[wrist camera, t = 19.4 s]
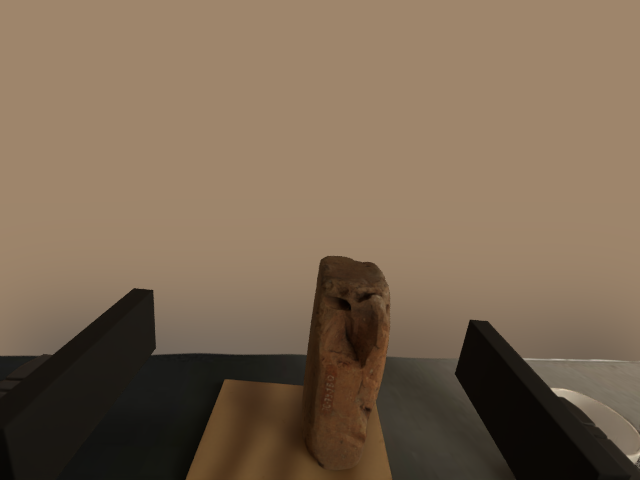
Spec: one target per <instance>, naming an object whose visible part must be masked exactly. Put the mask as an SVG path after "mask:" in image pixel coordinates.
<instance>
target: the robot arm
mask: <svg viewBox="0 0 640 480" xmlns="http://www.w3.org/2000/svg"><path fill="white" fill-rule="evenodd" d="M153 299H154V297H153V290H146V289H136V288H134V289H133V290H131V291H130V292H129V293H128V294H126V295H125V296H124V297H123V298H122V299H120V300H119V301H118V302H117V303H115V304H114V305H113V306H112V307H111V308H109V309H108V310H107V311H106V312H105V313H103V314H102V315H101V316H100V317H98V318H97V319H96V320H95V321H94V322H92V323H91V324H90V325H89V326H88V327H87V328H85V329H84V330H83V331H81V332H80V333H79V334H78V335H77V336H75V337H74V338H73V339H72V340H71V341H69V342H68V343H67V344H66V345H64V346H63V347H62V348H61V349H60V350H58V351H57V352H56V353H55V354H53V355H47V354H43V355H41V356H39V357H37V358H35V359H33V360H31V361H29V362H27V363H25V364H23V365H21V366H20V367H19V368H17V369H16V370H15V371H14V372H12V373H11V374H10V375H8V376H7V377H6V379H5V380H2V381H1V382H0V480H55V479H56V478H57V477H58V475H59V474H60V473H61V471H62V470H63V469H64V468H65V466H66V465H67V464H68V462H69V461H70V460H71V458H72V457H73V456H74V455H75V453H76V452H77V451H78V449H79V448H80V447H81V445H82V444H83V443H84V441H85V440H86V439H87V438H88V436H89V435H90V434H91V432H92V431H93V430H94V428H95V427H96V426H97V424H98V423H99V422H100V421H101V419H102V418H103V417H104V415H105V414H106V413H107V411H108V410H109V409H110V407H111V406H112V405H113V404H114V402H115V401H116V400H117V398H118V397H119V396H120V394H121V393H122V392H123V390H124V389H125V388H126V387H127V385H128V384H129V383H130V381H131V380H132V379H133V377H134V376H135V375H136V374H137V372H138V371H139V370H140V368H141V367H142V366H143V364H144V363H145V362H146V360H147V359H148V358H149V357H150V355H151V354H152V353H153V351H154V350H155V349H156V342H155V319H154V300H153ZM455 375H456V377H457V378H458V380H459V382H460V384H461V385H462V387H463V389H464V390H465V392H466V394H467V396H468V397H469V399H470V401H471V402H472V404H473V406H474V408H475V409H476V411H477V413H478V414H479V416H480V418H481V419H482V421H483V423H484V425H485V426H486V428H487V430H488V431H489V433H490V435H491V437H492V438H493V440H494V442H495V443H496V445H497V447H498V449H499V450H500V452H501V454H502V455H503V457H504V459H505V460H506V462H507V464H508V466H509V467H510V469H511V471H512V472H513V474H514V476H515V478H516V479H517V480H640V469H639V468H638V467H637V466H636V465H635V464H634V463H633V462H632V461H631V460H630V459H629V458H628V457H627V456H626V455H625V454H624V453H623V452H622V451H621V450H620V449H619V448H618V447H617V446H616V445H615V444H614V443H613V442H612V441H611V440H610V439H608V438H607V435H606V434H605V433H604V432H603V431H602V430H601V429H600V428H599V427H596V425H595V423H594V422H593V421H592V420H591V419H590V418H589V417H588V416H587V415H586V414H585V413H584V412H583V411H582V410H581V409H580V408H578V407H577V406H576V405H574V404H573V403H571V402H570V401H569V400H567V399H566V398H564V397H558V396H557V395H556V394H555V393H554V392H553V391H552V390H551V389H550V388H549V387H548V385H547V384H546V383H545V382H544V381H543V380H542V379H541V378H540V377H539V376H538V375H537V374H536V373H535V372H534V370H533V369H532V368H531V367H530V366H529V365H528V364H527V363H526V362H525V361H524V360H523V359H522V358H521V357H520V355H519V354H518V353H517V352H516V351H515V350H514V349H513V348H512V347H511V346H510V345H509V344H508V343H507V342H506V340H505V339H504V338H503V337H502V336H501V335H500V334H499V333H498V332H497V331H496V330H495V329H494V328H493V327H492V325H491V324H490V323H489V322H488V321H479V320H470V321H469V325H468V328H467V332H466V336H465V339H464V343H463V347H462V350H461V354H460V357H459V361H458V365H457V368H456V372H455Z"/></svg>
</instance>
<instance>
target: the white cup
mask: <svg viewBox="0 0 640 480" xmlns="http://www.w3.org/2000/svg"><path fill="white" fill-rule="evenodd" d="M550 389H551V390H552V391H553V392H554V393H555V394H556V395H557V396H558V397H564V398H566V399H567V400H569V401H570V402H571V403H573V404H574V405H576V406H577V407H578V408H580V409H581V410H582V411H583V412H584V413H585V414H586V415H587V416H588V417H589V418H590V419H591V420H592V421H593V422H594V423H595V425H596V427H599V428H600V429H601V430H602V431H603V432H604V433H605V434H606V435H607V438H608V439H610V440H611V441H612V442H613V443H614V444H615V445H616V446H617V447H618V448H619V449H620V450H621V451H622V452H623V453H624V454H625V455H626V456H627V457H628V458H629V459H630V460H631V461H632V462H633V463H634V464H636V462H637V461H638V459H639V457H640V434H639V433H638V432H637V430H636V429H635V428H634V427H633V426H632V425H631V424H630V423H629V422H628V421H627V420H626V419H625V418H623V417H622V416H621V415H620V414H618V413H617V412H615V411H614V410H612V409H611V408H609V407H608V406H606V405H604V404H603V403H601V402H599V401H597V400H595V399H593V398H591V397H589V396H586V395H584V394H581V393H578V392H575V391H572V390H568V389H562V388H550Z"/></svg>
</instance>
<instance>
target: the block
mask: <svg viewBox="0 0 640 480" xmlns="http://www.w3.org/2000/svg"><path fill="white" fill-rule="evenodd" d="M389 332H390V292H389V288H388V284H387V282H386V280H385V277H384V275H383V273H382V272H381V270H380V269H379V268H378V267H377V266H376V265H375V264H374V263H371V262H363V263H362V262H358V261H354V260H353V259H350V258H347V257H342V256H327V257H325V258H323V259H321V262H320V265H319V273H318V278H317V288H316V293H315V299H314V307H313V314H312V320H311V328H310V335H309V343H308V351H307V360H306V369H305V376H304V387H303V396H302V409H301V432H302V437H303V441H304V444H305V446H306V449H307V451H308V452H309V454H310V455H311V456H312V458H313V459H315V460H316V461H317V462H318V464H319V466H320V467H322V468H324V469H328V470H342V469H350V468H352V467H354V466H356V465H357V464H358V462H359V460H360V458H361V456H362V452H363V449H364V446H365V441H366V437H367V422H368V419H369V416H370V413H371V411H372V409H373V406H374V404H375V401H376V399H377V395H378V391H379V388H380V384H381V380H382V376H383V372H384V367H385V361H386V354H387V348H388V341H389Z"/></svg>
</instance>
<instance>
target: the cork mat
mask: <svg viewBox="0 0 640 480" xmlns="http://www.w3.org/2000/svg"><path fill="white" fill-rule="evenodd" d="M303 387H304V386H299V385H287V384H275V383H263V382H251V381H239V380H227V379H225V381H224V383H223V386H222V388H221V391H220V393H219V396H218V398H217V401H216V403H215V406H214V409H213V411H212V414H211V416H210V419H209V421H208V424H207V426H206V429H205V431H204V434H203V437H202V439H201V442H200V444H199V447H198V449H197V452H196V454H195V457H194V459H193V462H192V465H191V467H190V470H189V472H188V475H187V477H186V480H392V476H391V472H390V467H389V462H388V458H387V453H386V449H385V444H384V439H383V435H382V430H381V425H380V421H379V416H378V411H377V407H376V402H375V404H374V406H373V409H372V411H371V413H370V416H369V419H368V422H367V437H366V441H365V446H364V449H363V452H362V456H361V458H360V460H359V462H358V464H357V465H356V466H354V467H352V468H350V469H342V470H328V469H324V468H322V467H320V466H319V464H318V462H317V461H316V460H315V459H313V458H312V456H311V455H310V454H309V452H308V451H307V449H306V446H305V444H304V441H303V437H302V432H301V409H302V396H303Z"/></svg>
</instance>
